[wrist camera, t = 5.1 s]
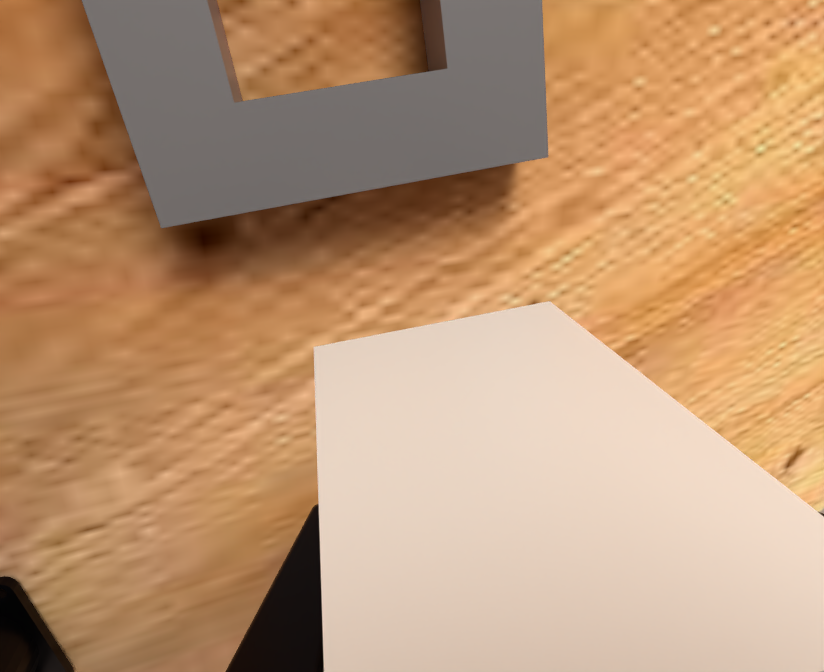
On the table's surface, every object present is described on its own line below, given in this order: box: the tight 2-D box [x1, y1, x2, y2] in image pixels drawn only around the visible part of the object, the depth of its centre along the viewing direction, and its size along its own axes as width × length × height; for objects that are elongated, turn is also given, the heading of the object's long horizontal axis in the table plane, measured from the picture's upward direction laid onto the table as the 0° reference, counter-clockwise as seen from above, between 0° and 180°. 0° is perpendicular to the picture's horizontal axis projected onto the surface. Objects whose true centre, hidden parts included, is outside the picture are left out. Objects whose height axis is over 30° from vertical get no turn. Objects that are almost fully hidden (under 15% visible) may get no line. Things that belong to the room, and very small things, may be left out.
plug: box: [314, 301, 824, 672], centre depth 8 cm, size 4×4×7 cm
